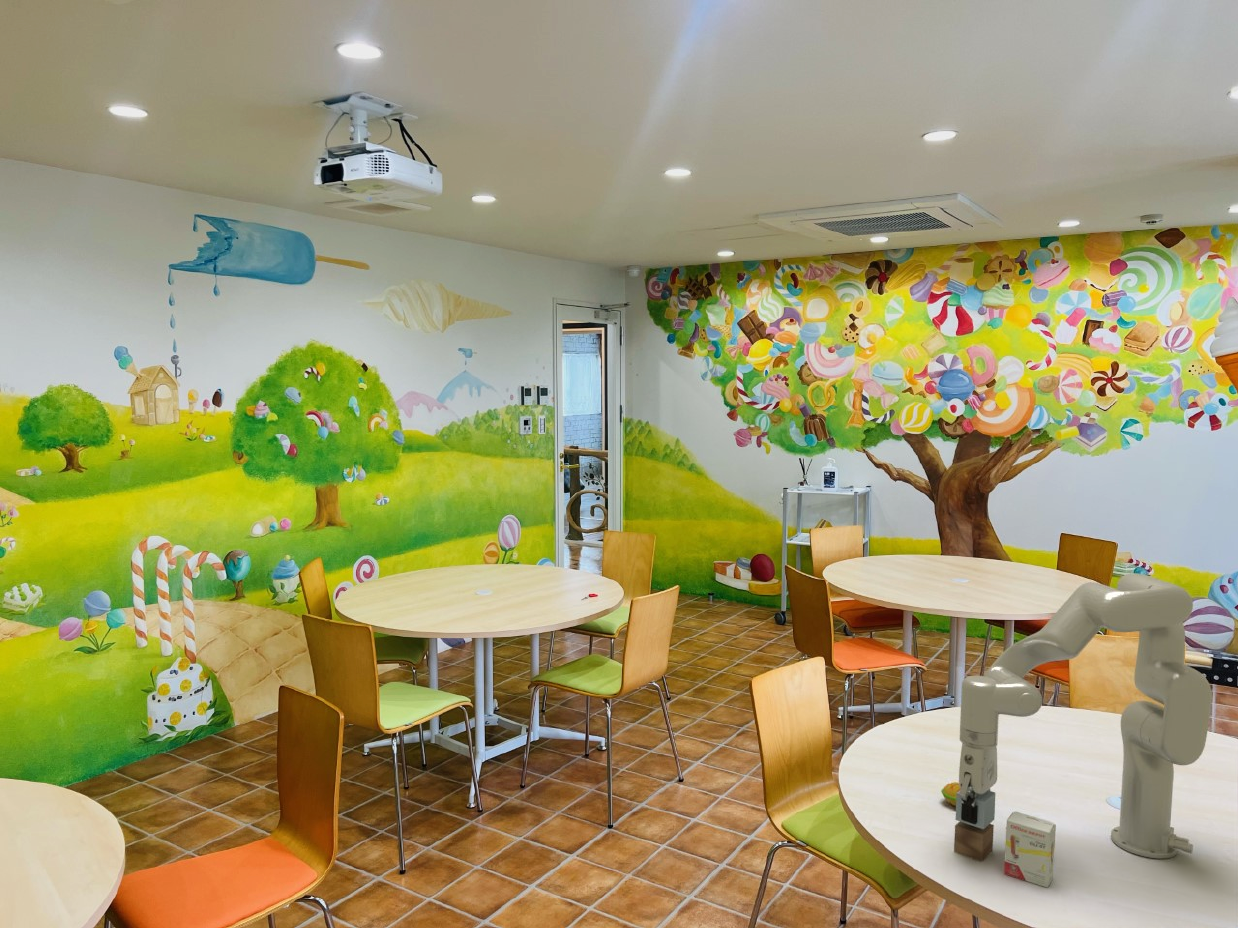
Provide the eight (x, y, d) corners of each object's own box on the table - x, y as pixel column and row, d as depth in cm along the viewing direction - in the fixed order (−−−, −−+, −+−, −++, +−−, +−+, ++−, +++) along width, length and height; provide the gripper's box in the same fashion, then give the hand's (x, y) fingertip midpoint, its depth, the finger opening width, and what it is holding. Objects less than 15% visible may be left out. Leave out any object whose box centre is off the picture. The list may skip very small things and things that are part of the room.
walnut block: (992, 851, 193) (993, 824, 192) (981, 862, 188) (983, 834, 188) (964, 841, 197) (966, 815, 196) (953, 851, 192) (955, 825, 192)
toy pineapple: (947, 795, 219) (948, 774, 219) (989, 808, 212) (990, 786, 212) (936, 804, 214) (937, 783, 213) (978, 818, 207) (979, 796, 207)
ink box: (1002, 873, 184) (1005, 818, 183) (1009, 864, 187) (1011, 809, 186) (1047, 888, 178) (1050, 831, 177) (1053, 878, 182) (1056, 822, 181)
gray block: (994, 819, 192) (995, 792, 192) (983, 829, 188) (984, 801, 187) (966, 810, 196) (967, 783, 196) (955, 819, 192) (956, 792, 191)
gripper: (980, 751, 181) (977, 836, 183) (1011, 728, 194) (1007, 808, 196) (944, 741, 187) (941, 824, 188) (976, 719, 199) (973, 797, 201)
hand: (975, 815), depth 192 cm, fingers closed on gray block, 5 cm apart
